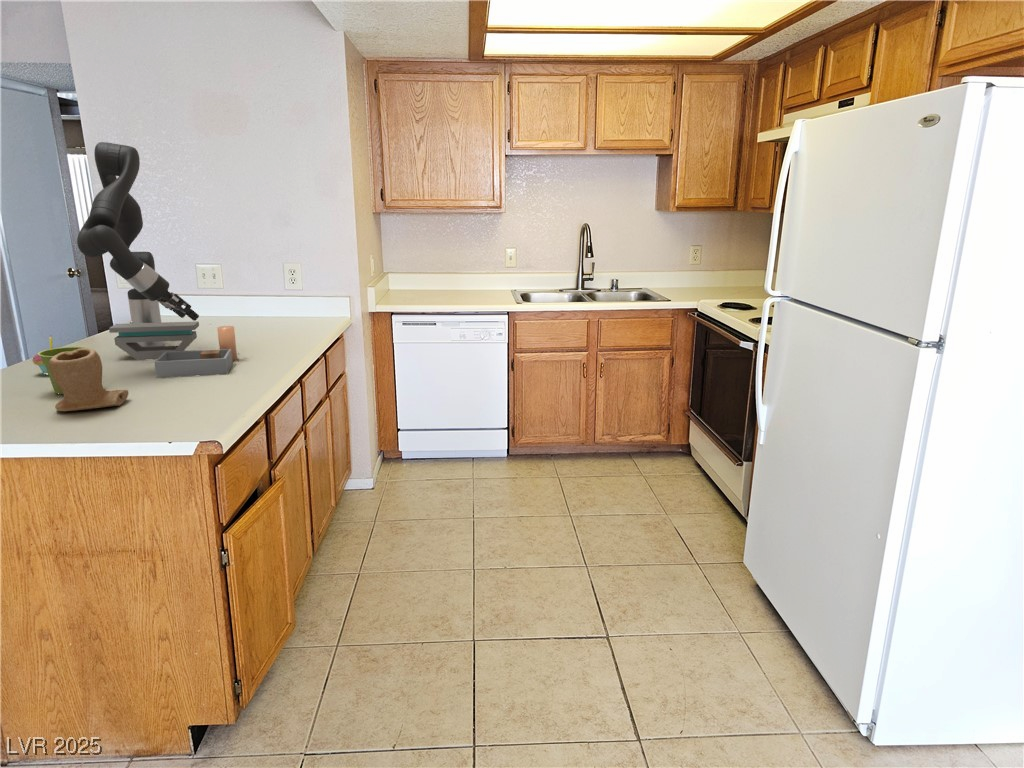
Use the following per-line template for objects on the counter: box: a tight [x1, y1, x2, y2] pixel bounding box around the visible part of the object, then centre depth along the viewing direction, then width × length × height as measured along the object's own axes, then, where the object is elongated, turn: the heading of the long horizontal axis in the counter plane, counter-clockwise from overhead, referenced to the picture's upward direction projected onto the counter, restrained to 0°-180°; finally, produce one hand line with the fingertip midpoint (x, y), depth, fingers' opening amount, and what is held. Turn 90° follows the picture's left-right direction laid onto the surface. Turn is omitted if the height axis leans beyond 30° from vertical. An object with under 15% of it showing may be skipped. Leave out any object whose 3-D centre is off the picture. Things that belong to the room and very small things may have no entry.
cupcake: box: [31, 334, 54, 374], centre depth 192 cm, size 9×8×12 cm
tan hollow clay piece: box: [49, 347, 129, 412], centre depth 160 cm, size 15×12×15 cm
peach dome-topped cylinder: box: [216, 325, 238, 362], centre depth 212 cm, size 5×5×11 cm
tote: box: [154, 348, 233, 379], centre depth 199 cm, size 19×14×5 cm
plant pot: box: [37, 346, 91, 395], centre depth 174 cm, size 12×12×11 cm
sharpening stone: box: [108, 320, 200, 361], centre depth 216 cm, size 25×8×11 cm, turn 105°
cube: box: [200, 349, 221, 359], centre depth 200 cm, size 5×5×5 cm
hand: (190, 317), depth 202 cm, fingers open, 8 cm apart
